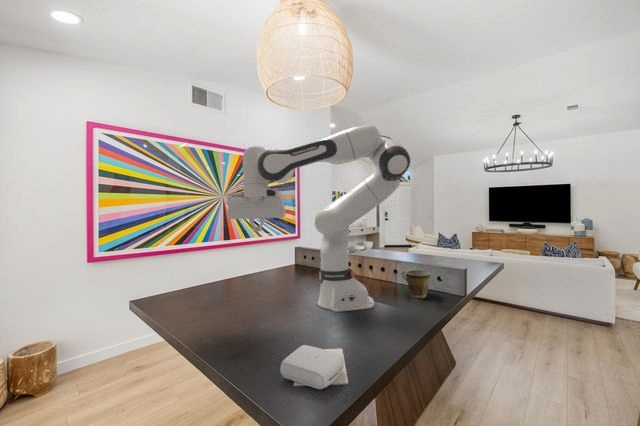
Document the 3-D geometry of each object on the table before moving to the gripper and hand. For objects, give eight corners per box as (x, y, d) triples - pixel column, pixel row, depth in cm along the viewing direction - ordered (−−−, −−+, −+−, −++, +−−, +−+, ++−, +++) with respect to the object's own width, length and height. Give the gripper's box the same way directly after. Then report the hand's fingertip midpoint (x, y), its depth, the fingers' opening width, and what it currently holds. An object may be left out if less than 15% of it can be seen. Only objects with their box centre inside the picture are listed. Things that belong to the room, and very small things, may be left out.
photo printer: (304, 341, 73) (348, 353, 67) (305, 358, 73) (348, 371, 67) (279, 360, 65) (326, 375, 58) (279, 379, 65) (327, 396, 58)
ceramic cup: (435, 296, 121) (434, 272, 121) (420, 301, 115) (420, 276, 115) (410, 289, 132) (409, 267, 132) (395, 293, 126) (395, 271, 126)
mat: (342, 350, 78) (342, 348, 78) (348, 384, 63) (348, 382, 63) (298, 351, 78) (298, 350, 78) (293, 385, 63) (293, 384, 63)
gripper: (224, 193, 99) (225, 232, 99) (283, 191, 99) (284, 231, 99) (229, 194, 105) (231, 231, 105) (285, 192, 105) (286, 229, 106)
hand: (257, 231), depth 102 cm, fingers closed
